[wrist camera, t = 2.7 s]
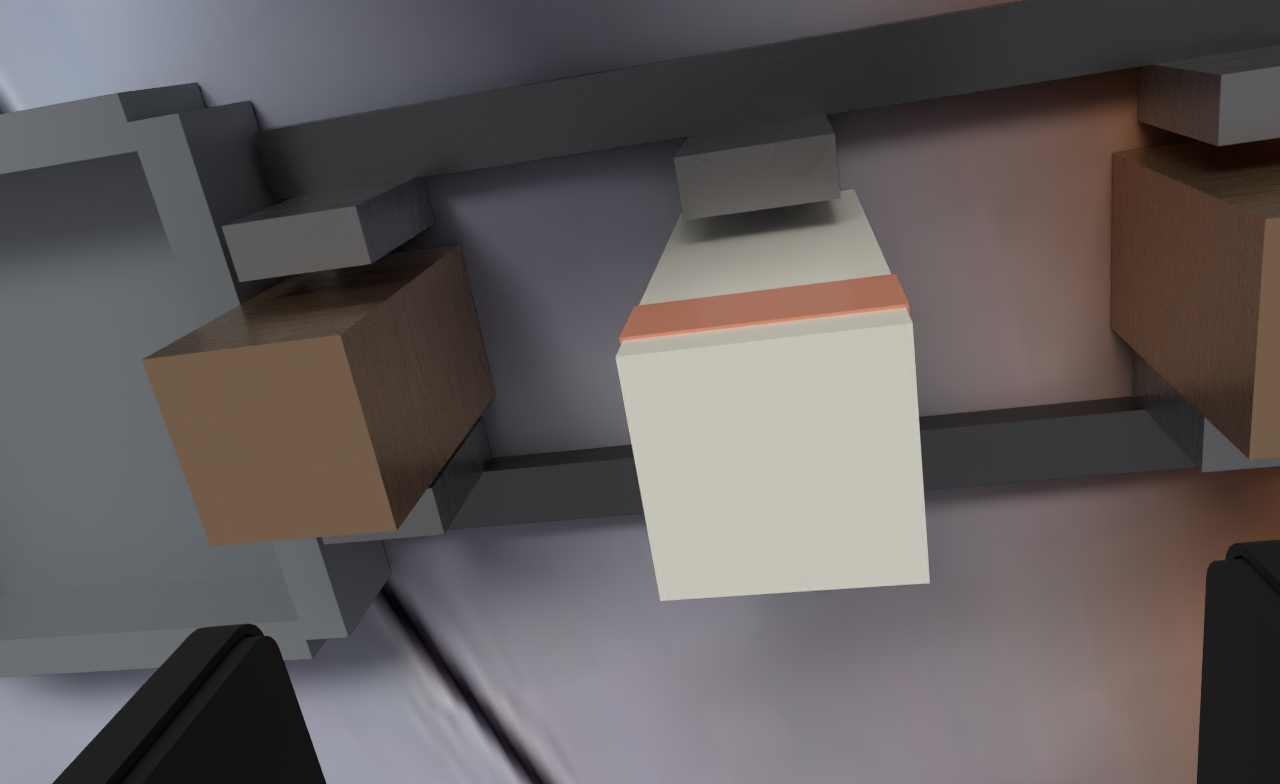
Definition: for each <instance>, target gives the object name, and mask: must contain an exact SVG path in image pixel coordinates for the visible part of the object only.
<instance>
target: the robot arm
mask: <svg viewBox="0 0 1280 784" xmlns="http://www.w3.org/2000/svg"><path fill="white" fill-rule="evenodd" d="M52 784H326V781H325V778H324V776H323V773H322V770H321V767H320V764H319V761H318V758H317V755H316V752H315V750H314V747H313V744H312V741H311V738H310V735H309V732H308V729H307V726H306V724H305V721H304V718H303V715H302V712H301V709H300V706H299V703H298V701H297V698H296V695H295V692H294V689H293V686H292V683H291V680H290V677H289V675H288V672H287V669H286V666H285V663H284V660H283V657H282V654H281V651H280V649H279V646H278V644H277V642H276V641H275V640H274V639H273V638H272V637H270V636H264V634H263V632H262V631H261V630H260V629H259V628H258V627H257V626H256V625H253V624H250V623H248V624H236V625H224V626H211V627H203V628H198V629H196V630H195V631H194V632H192V633H191V634H190V635H189V636H188V637H187V638H186V639H185V640H184V641H183V643H182V644H181V645H180V646H179V647H178V648H177V649H176V650H175V651H174V652H173V653H172V654H171V656H170V657H169V658H168V659H167V660H166V661H165V662H164V663H163V664H162V665H161V666H160V667H159V669H158V670H157V671H156V672H155V673H154V674H153V675H152V676H151V677H150V678H149V679H148V680H147V682H146V683H145V684H144V685H143V686H142V687H141V688H140V689H139V690H138V691H137V692H136V693H135V695H134V696H133V697H132V698H131V699H130V700H129V701H128V702H127V703H126V704H125V705H124V706H123V708H122V709H121V710H120V711H119V712H118V713H117V714H116V715H115V716H114V717H113V718H112V719H111V721H110V722H109V723H108V724H107V725H106V726H105V727H104V728H103V729H102V730H101V731H100V732H99V734H98V735H97V736H96V737H95V738H94V739H93V740H92V741H91V742H90V743H89V744H88V745H87V747H86V748H85V749H84V750H83V751H82V752H81V753H80V754H79V755H78V756H77V757H76V758H75V760H74V761H73V762H72V763H71V764H70V765H69V766H68V767H67V768H66V769H65V770H64V771H63V773H62V774H61V775H60V776H59V777H58V778H57V779H56V780H55V781H54V782H53V783H52ZM1197 784H1280V540H1269V541H1257V542H1245V543H1235V544H1233V545H1232V546H1230V547H1229V550H1228V552H1227V554H1226V558H1225V560H1220V561H1213V562H1212V563H1210V565H1209V567H1208V569H1207V577H1206V596H1205V618H1204V640H1203V661H1202V683H1201V705H1200V726H1199V748H1198V770H1197Z"/></svg>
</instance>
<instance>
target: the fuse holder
mask: <svg viewBox="0 0 1280 784" xmlns="http://www.w3.org/2000/svg"><path fill="white" fill-rule="evenodd" d="M1134 67H1139V84H1138V121H1139V122H1143V123H1146V124H1149V125H1152V126H1155V127H1158V128H1162V129H1165V130H1168V131H1171V132H1174V133H1177V134H1181V135H1184V136H1187V137H1190V138H1193V139H1197V140H1200V141H1193V142H1186V143H1179V144H1172V145H1165V146H1158V147H1151V148H1144V149H1136V150H1129V151H1122V152H1115V153H1112V244H1111V328H1112V329H1113V330H1114V331H1115V332H1116V333H1117V334H1118V335H1119V336H1120V337H1121V338H1122V339H1123V340H1124V341H1125V342H1127V343H1128V344H1129V345H1130V346H1131V347H1132V348H1133V387H1132V397H1123V398H1113V399H1102V400H1092V401H1082V402H1071V403H1061V404H1050V405H1040V406H1030V407H1019V408H1009V409H999V410H988V411H978V412H968V413H957V414H947V415H936V416H926V417H919V427H920V442H921V457H922V472H923V487H924V490H931V489H943V488H955V487H967V486H979V485H991V484H1003V483H1015V482H1027V481H1040V480H1052V479H1064V478H1076V477H1088V476H1100V475H1112V474H1124V473H1136V472H1148V471H1160V470H1172V469H1184V468H1196V467H1197V468H1198V469H1199V470H1200V471H1201V472H1213V471H1226V470H1238V469H1250V468H1262V467H1274V466H1280V0H1022V1H1016V2H1010V3H1004V4H999V5H993V6H987V7H981V8H975V9H969V10H963V11H957V12H952V13H946V14H940V15H934V16H928V17H922V18H916V19H910V20H905V21H899V22H893V23H887V24H881V25H875V26H869V27H863V28H858V29H852V30H846V31H840V32H834V33H828V34H822V35H816V36H811V37H805V38H799V39H793V40H787V41H781V42H775V43H769V44H764V45H758V46H752V47H746V48H740V49H734V50H728V51H722V52H717V53H711V54H705V55H699V56H693V57H687V58H681V59H675V60H670V61H664V62H658V63H652V64H646V65H640V66H634V67H628V68H623V69H617V70H611V71H605V72H599V73H593V74H587V75H581V76H576V77H570V78H564V79H558V80H552V81H546V82H540V83H534V84H529V85H523V86H517V87H511V88H505V89H499V90H493V91H487V92H482V93H476V94H470V95H464V96H458V97H452V98H446V99H440V100H435V101H429V102H423V103H417V104H411V105H405V106H399V107H393V108H388V109H382V110H376V111H370V112H364V113H358V114H352V115H346V116H341V117H335V118H329V119H323V120H317V121H311V122H305V123H299V124H294V125H288V126H282V127H276V128H270V129H266V130H262V131H258V132H254V135H255V138H256V141H257V145H258V148H259V151H260V155H261V158H262V161H263V165H264V168H265V171H266V175H267V178H268V181H269V185H270V188H271V191H272V195H273V198H274V201H275V200H282V199H288V198H291V199H289V200H286V201H284V202H281V203H279V204H276V205H274V206H271V207H269V208H266V209H264V210H261V211H259V212H256V213H254V214H251V215H249V216H246V217H244V218H241V219H239V220H236V221H233V222H231V223H228V224H226V225H223V226H222V229H223V233H224V236H225V239H226V242H227V245H228V248H229V251H230V254H231V257H232V260H233V264H234V267H235V270H236V273H237V276H238V279H239V282H244V281H251V280H258V279H266V278H273V277H280V276H287V275H293V276H291V277H289V278H287V279H285V280H284V281H282V282H280V283H278V284H276V285H275V286H273V287H271V288H269V289H268V290H266V291H264V292H262V293H260V294H259V295H257V296H255V297H253V298H251V299H250V300H248V301H246V302H244V303H242V304H241V305H239V306H237V307H235V308H233V309H232V310H230V311H228V312H226V313H224V314H223V315H221V316H219V317H217V318H215V319H214V320H212V321H210V322H208V323H206V324H205V325H203V326H201V327H199V328H198V329H196V330H194V331H192V332H190V333H189V334H187V335H185V336H183V337H181V338H180V339H178V340H176V341H174V342H172V343H171V344H169V345H167V346H165V347H163V348H162V349H160V350H158V351H156V352H154V353H153V354H151V355H149V356H147V357H145V358H144V359H142V362H143V365H144V368H145V370H146V373H147V376H148V378H149V381H150V384H151V386H152V389H153V392H154V395H155V397H156V400H157V403H158V405H159V408H160V411H161V413H162V416H163V419H164V421H165V424H166V427H167V430H168V432H169V435H170V438H171V440H172V443H173V446H174V448H175V451H176V454H177V456H178V459H179V462H180V465H181V467H182V470H183V473H184V475H185V478H186V481H187V483H188V486H189V489H190V491H191V494H192V497H193V500H194V502H195V505H196V508H197V510H198V513H199V516H200V518H201V521H202V524H203V526H204V529H205V532H206V535H207V537H208V540H209V543H210V545H211V546H221V545H233V544H245V543H257V542H269V541H281V540H293V539H305V538H316V537H322V539H323V542H324V544H336V543H348V542H360V541H372V540H384V539H397V538H409V537H421V536H433V535H444V534H445V533H446V531H447V530H449V529H461V528H473V527H485V526H497V525H509V524H521V523H533V522H545V521H557V520H570V519H582V518H594V517H606V516H618V515H630V514H642V513H644V509H643V503H642V498H641V493H640V487H639V482H638V476H637V471H636V465H635V460H634V455H633V449H632V445H626V446H615V447H605V448H595V449H584V450H574V451H563V452H553V453H543V454H532V455H522V456H512V457H501V458H492V456H491V452H490V448H489V444H488V439H487V435H486V431H485V427H484V423H483V419H482V418H479V416H480V415H481V414H482V412H483V411H484V409H485V408H486V407H487V405H488V404H489V403H490V401H491V400H492V398H493V397H494V396H495V391H494V387H493V383H492V379H491V374H490V370H489V366H488V361H487V357H486V353H485V349H484V344H483V340H482V336H481V332H480V327H479V323H478V319H477V315H476V310H475V306H474V302H473V298H472V293H471V289H470V285H469V281H468V276H467V272H466V268H465V264H464V259H463V255H462V251H461V247H460V244H459V245H452V246H445V247H438V248H431V249H424V250H417V251H410V252H402V253H395V254H388V255H386V254H387V253H389V252H390V251H392V250H394V249H395V248H397V247H398V246H400V245H401V244H403V243H405V242H406V241H408V240H409V239H411V238H412V237H414V236H416V235H417V234H419V233H420V232H422V231H423V230H425V229H427V228H428V227H430V226H431V225H433V224H434V223H435V221H434V217H433V213H432V209H431V205H430V200H429V196H428V192H427V188H426V184H425V180H424V177H430V176H437V175H443V174H450V173H456V172H463V171H469V170H476V169H482V168H488V167H495V166H501V165H508V164H514V163H521V162H527V161H534V160H540V159H547V158H553V157H559V156H566V155H572V154H579V153H585V152H592V151H598V150H605V149H611V148H617V147H624V146H630V145H637V144H643V143H650V142H656V141H663V140H669V139H676V138H682V137H687V139H686V140H685V142H684V143H683V144H682V146H681V147H680V149H679V150H678V152H677V153H676V155H675V156H674V165H675V171H676V178H677V185H678V191H679V198H680V205H681V211H682V218H683V220H690V219H698V218H705V217H712V216H719V215H726V214H734V213H741V212H748V211H755V210H762V209H770V208H777V207H784V206H791V205H798V204H806V203H813V202H820V201H827V200H834V199H841V197H840V186H839V174H838V163H837V152H836V141H835V133H834V131H833V129H832V126H831V124H830V122H829V120H828V118H827V116H826V115H830V114H837V113H843V112H850V111H856V110H863V109H869V108H876V107H882V106H889V105H895V104H901V103H908V102H914V101H921V100H927V99H934V98H940V97H947V96H953V95H960V94H966V93H972V92H979V91H985V90H992V89H998V88H1005V87H1011V86H1018V85H1024V84H1031V83H1037V82H1043V81H1050V80H1056V79H1063V78H1069V77H1076V76H1082V75H1089V74H1095V73H1102V72H1108V71H1114V70H1121V69H1127V68H1134Z"/></svg>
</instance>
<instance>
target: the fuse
mask: <svg viewBox="0 0 1280 784" xmlns="http://www.w3.org/2000/svg"><path fill="white" fill-rule="evenodd" d="M840 197H841V199H834V200H827V201H820V202H813V203H806V204H798V205H791V206H784V207H777V208H770V209H762V210H755V211H748V212H741V213H734V214H726V215H719V216H712V217H705V218H698V219H690V220H683V218H682V213H681V214H680V216H679V219H678V221H677V223H676V225H675V227H674V230H673V232H672V234H671V236H670V238H669V241H668V243H667V245H666V247H665V249H664V252H663V254H662V256H661V258H660V260H659V262H658V265H657V267H656V269H655V271H654V273H653V276H652V278H651V280H650V282H649V284H648V287H647V289H646V291H645V293H644V295H643V298H642V300H641V302H640V304H639V305H638V306H634V307H633V309H632V311H631V313H630V316H629V318H628V320H627V322H626V324H625V326H624V328H623V330H622V333H621V335H620V337H619V341H620V348H619V350H618V353H617V355H616V362H617V368H618V373H619V379H620V384H621V389H622V395H623V400H624V406H625V411H626V417H627V422H628V427H629V433H630V438H631V444H632V449H633V455H634V460H635V465H636V471H637V476H638V482H639V487H640V493H641V498H642V503H643V509H644V514H645V520H646V525H647V531H648V536H649V541H650V547H651V552H652V558H653V563H654V569H655V574H656V579H657V585H658V590H659V596H660V601H666V600H681V599H696V598H711V597H727V596H742V595H757V594H772V593H787V592H802V591H818V590H833V589H848V588H863V587H878V586H894V585H909V584H924V583H930V578H929V563H928V548H927V533H926V517H925V502H924V487H923V472H922V457H921V442H920V427H919V412H918V397H917V382H916V366H915V351H914V336H913V323H912V321H911V318H910V306H909V302H908V300H907V297H906V295H905V293H904V291H903V289H902V286H901V284H900V282H899V280H898V278H897V275H896V274H891V272H890V270H889V268H888V265H887V263H886V261H885V259H884V256H883V254H882V252H881V249H880V247H879V245H878V243H877V240H876V238H875V236H874V233H873V231H872V229H871V226H870V224H869V222H868V220H867V217H866V215H865V213H864V210H863V208H862V206H861V204H860V201H859V199H858V197H857V194H856V192H855V190H854V189H850V190H842V191H840Z"/></svg>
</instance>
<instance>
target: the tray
mask: <svg viewBox="0 0 1280 784" xmlns="http://www.w3.org/2000/svg"><path fill="white" fill-rule="evenodd" d="M258 131H259V128H258V124H257V121H256V118H255V114H254V111H253V107H252V104H251V101H244V102H239V103H233V104H227V105H222V106H216V107H211V108H205V106H204V102H203V99H202V96H201V93H200V90H199V87H198V83H190V84H183V85H175V86H168V87H160V88H152V89H145V90H137V91H129V92H122V93H115V94H110V95H104V96H99V97H93V98H88V99H82V100H77V101H72V102H66V103H61V104H55V105H50V106H44V107H39V108H33V109H28V110H22V111H17V112H12V113H6V114H1V115H0V677H12V676H29V675H46V674H63V673H80V672H97V671H115V670H132V669H149V668H159V667H160V666H161V665H162V664H163V663H164V662H165V661H166V660H167V659H168V658H169V657H170V656H171V654H172V653H173V652H174V651H175V650H176V649H177V648H178V647H179V646H180V645H181V644H182V643H183V641H184V640H185V639H186V638H187V637H188V636H189V635H190V634H191V633H192V632H194V631H195V630H196V629H198V628H203V627H211V626H224V625H236V624H248V623H250V624H253V625H256V626H257V627H258V628H259V629H260V630H261V631H262V632H263V634H264V636H270V637H272V638H273V639H274V640H275V641H276V642H277V644H278V646H279V649H280V651H281V654H282V657H283V660H284V661H286V660H303V659H313V657H314V656H315V655H316V653H317V652H318V650H319V649H320V648H321V646H322V645H323V643H324V642H325V641H326V639H329V638H345V637H349V636H350V634H351V633H352V631H353V630H354V628H355V627H356V625H357V624H358V622H359V621H360V619H361V618H362V616H363V615H364V614H365V612H366V611H367V609H368V608H369V606H370V605H371V603H372V602H373V600H374V599H375V597H376V596H377V594H378V593H379V591H380V590H381V588H382V587H383V585H384V584H385V582H386V581H387V580H388V578H389V577H390V575H391V570H390V567H389V564H388V560H387V557H386V554H385V550H384V547H383V544H382V540H372V541H360V542H348V543H336V544H324V542H323V539H322V537H316V538H305V539H293V540H281V541H269V542H257V543H245V544H233V545H221V546H211V545H210V543H209V540H208V537H207V535H206V532H205V529H204V526H203V524H202V521H201V518H200V516H199V513H198V510H197V508H196V505H195V502H194V500H193V497H192V494H191V491H190V489H189V486H188V483H187V481H186V478H185V475H184V473H183V470H182V467H181V465H180V462H179V459H178V456H177V454H176V451H175V448H174V446H173V443H172V440H171V438H170V435H169V432H168V430H167V427H166V424H165V421H164V419H163V416H162V413H161V411H160V408H159V405H158V403H157V400H156V397H155V395H154V392H153V389H152V386H151V384H150V381H149V378H148V376H147V373H146V370H145V368H144V365H143V362H142V359H144V358H145V357H147V356H149V355H151V354H153V353H154V352H156V351H158V350H160V349H162V348H163V347H165V346H167V345H169V344H171V343H172V342H174V341H176V340H178V339H180V338H181V337H183V336H185V335H187V334H189V333H190V332H192V331H194V330H196V329H198V328H199V327H201V326H203V325H205V324H206V323H208V322H210V321H212V320H214V319H215V318H217V317H219V316H221V315H223V314H224V313H226V312H228V311H230V310H232V309H233V308H235V307H237V306H239V305H241V304H242V303H244V302H246V301H248V300H250V299H251V298H253V297H255V296H257V295H259V294H260V293H262V292H264V291H266V290H268V289H269V288H271V287H273V286H275V285H276V284H278V283H280V282H282V281H284V280H285V279H287V278H289V277H291V276H293V275H287V276H280V277H273V278H266V279H258V280H251V281H244V282H239V279H238V276H237V273H236V270H235V267H234V264H233V260H232V257H231V254H230V251H229V248H228V245H227V242H226V239H225V236H224V233H223V229H222V226H223V225H226V224H228V223H231V222H233V221H236V220H239V219H241V218H244V217H246V216H249V215H251V214H254V213H256V212H259V211H261V210H264V209H266V208H269V207H271V206H274V205H276V204H279V203H281V201H280V200H275V201H274V198H273V195H272V191H271V188H270V185H269V181H268V178H267V175H266V171H265V168H264V165H263V161H262V158H261V155H260V151H259V148H258V145H257V141H256V138H255V135H254V132H258Z"/></svg>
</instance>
